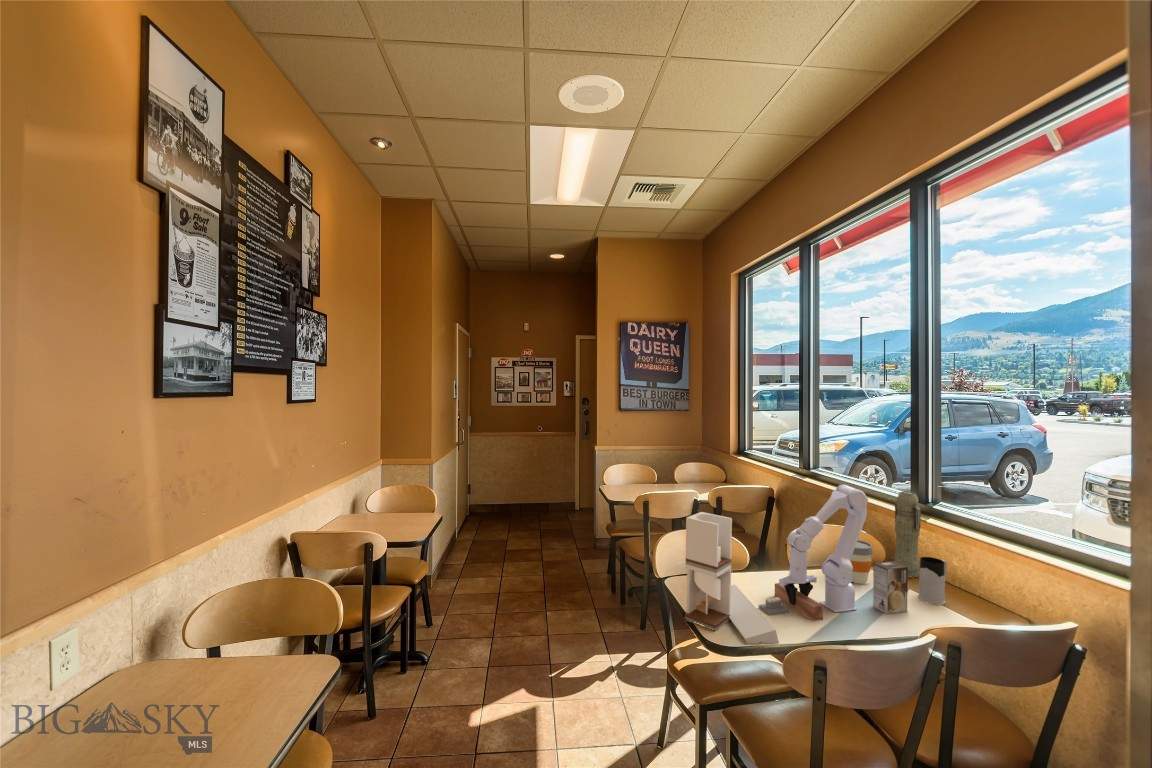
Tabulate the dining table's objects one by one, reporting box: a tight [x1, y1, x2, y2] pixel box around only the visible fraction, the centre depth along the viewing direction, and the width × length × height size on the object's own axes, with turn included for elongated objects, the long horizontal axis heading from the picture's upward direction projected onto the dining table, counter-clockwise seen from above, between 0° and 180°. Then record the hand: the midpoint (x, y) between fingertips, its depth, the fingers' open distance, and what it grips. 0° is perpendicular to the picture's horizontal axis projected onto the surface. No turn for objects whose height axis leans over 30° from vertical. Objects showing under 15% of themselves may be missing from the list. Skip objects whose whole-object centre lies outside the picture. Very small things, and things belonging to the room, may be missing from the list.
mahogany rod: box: [774, 582, 824, 622], centre depth 179 cm, size 4×20×5 cm, turn 16°
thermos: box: [893, 491, 922, 577], centre depth 212 cm, size 9×12×35 cm
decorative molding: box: [729, 584, 779, 645], centre depth 171 cm, size 34×5×10 cm
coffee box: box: [872, 561, 909, 615], centre depth 178 cm, size 9×6×16 cm
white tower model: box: [684, 511, 733, 632], centre depth 168 cm, size 11×11×35 cm
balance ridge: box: [758, 596, 790, 616], centre depth 176 cm, size 8×6×4 cm
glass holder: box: [917, 556, 948, 606], centre depth 188 cm, size 9×14×15 cm, turn 117°
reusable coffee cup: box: [850, 539, 874, 584], centre depth 205 cm, size 13×13×15 cm
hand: (797, 603), depth 179 cm, fingers closed on mahogany rod, 4 cm apart
